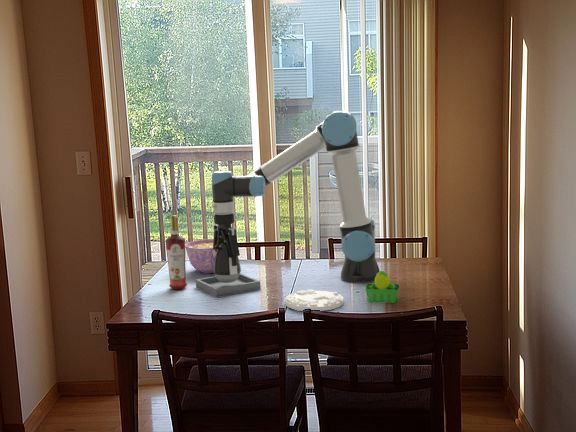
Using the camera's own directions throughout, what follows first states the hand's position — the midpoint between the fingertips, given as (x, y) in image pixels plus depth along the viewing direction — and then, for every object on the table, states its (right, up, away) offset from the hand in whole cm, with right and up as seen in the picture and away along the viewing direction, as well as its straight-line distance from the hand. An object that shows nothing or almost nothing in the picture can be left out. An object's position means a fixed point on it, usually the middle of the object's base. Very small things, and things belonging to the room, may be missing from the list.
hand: (227, 271), depth 273 cm
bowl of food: (-9, -2, +30) cm, 32 cm away
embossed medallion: (+32, -10, -24) cm, 41 cm away
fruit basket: (+55, -9, -24) cm, 61 cm away
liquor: (-19, -7, +4) cm, 20 cm away
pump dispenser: (0, -4, +1) cm, 4 cm away
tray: (0, -6, +1) cm, 6 cm away
